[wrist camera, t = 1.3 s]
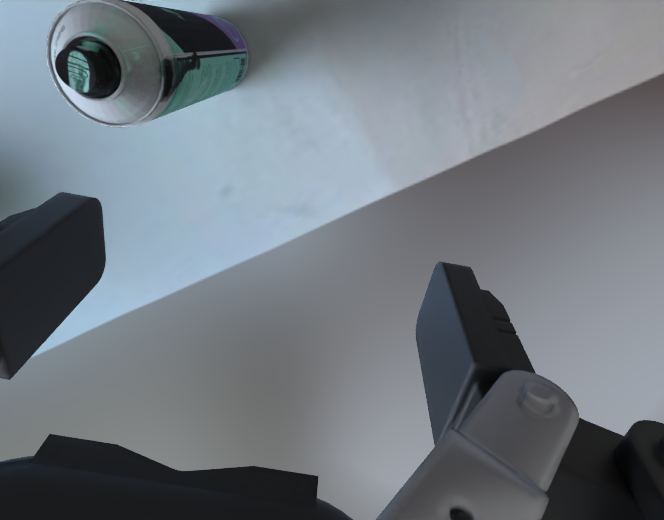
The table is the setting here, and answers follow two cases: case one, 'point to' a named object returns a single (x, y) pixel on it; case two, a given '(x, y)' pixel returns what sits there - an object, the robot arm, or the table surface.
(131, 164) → the table surface
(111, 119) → the spray can
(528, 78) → the table surface
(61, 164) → the table surface
